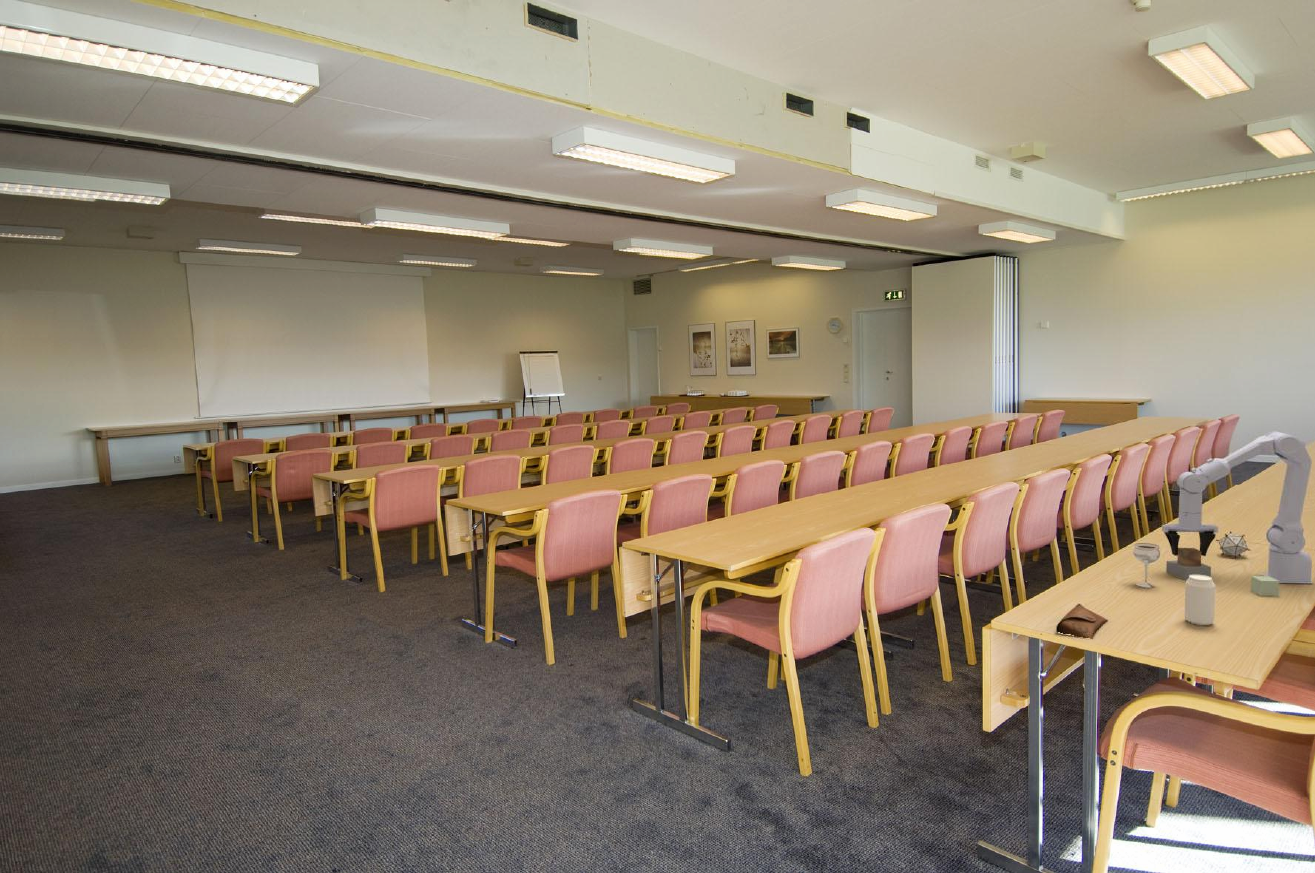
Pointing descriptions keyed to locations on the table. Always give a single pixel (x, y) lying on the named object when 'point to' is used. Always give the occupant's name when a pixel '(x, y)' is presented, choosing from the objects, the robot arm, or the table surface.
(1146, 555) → the wineglass
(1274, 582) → the sage-green block
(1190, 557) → the walnut block
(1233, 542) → the game die
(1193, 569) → the grey square block
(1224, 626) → the table surface
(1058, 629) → the sunglasses case
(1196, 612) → the beverage can
